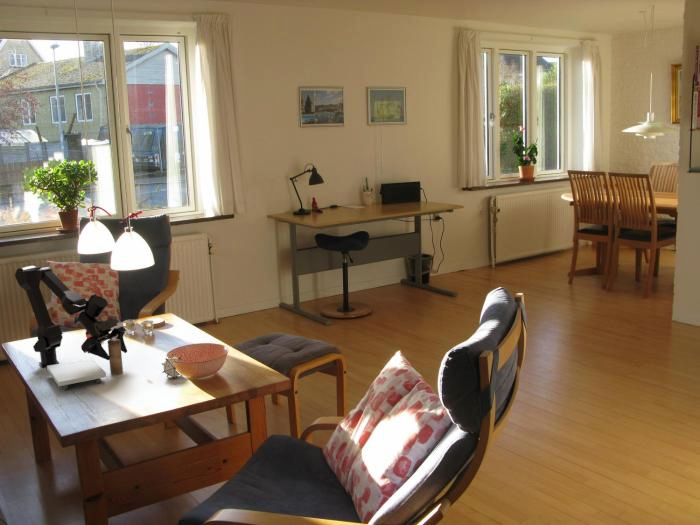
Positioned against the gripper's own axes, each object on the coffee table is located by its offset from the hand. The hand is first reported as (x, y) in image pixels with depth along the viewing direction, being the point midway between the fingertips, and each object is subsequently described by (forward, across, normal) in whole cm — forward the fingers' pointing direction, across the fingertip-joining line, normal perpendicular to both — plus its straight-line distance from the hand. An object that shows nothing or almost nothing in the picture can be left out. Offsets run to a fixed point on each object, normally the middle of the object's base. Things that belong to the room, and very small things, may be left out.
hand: (118, 355), depth 263 cm
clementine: (-24, +31, +34) cm, 52 cm away
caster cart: (-2, -11, +12) cm, 16 cm away
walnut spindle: (+4, 0, +6) cm, 7 cm away
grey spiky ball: (+21, +3, -11) cm, 24 cm away
